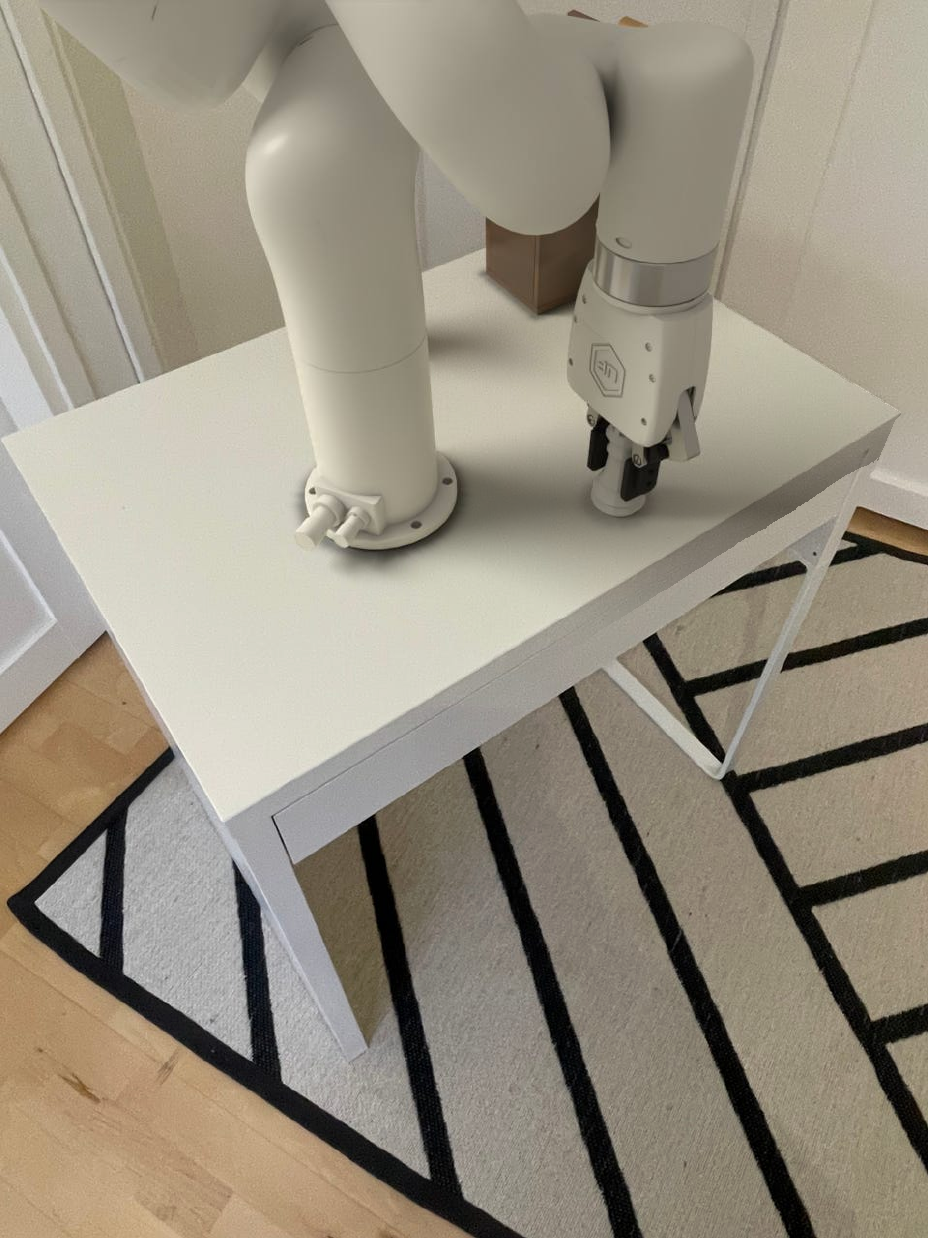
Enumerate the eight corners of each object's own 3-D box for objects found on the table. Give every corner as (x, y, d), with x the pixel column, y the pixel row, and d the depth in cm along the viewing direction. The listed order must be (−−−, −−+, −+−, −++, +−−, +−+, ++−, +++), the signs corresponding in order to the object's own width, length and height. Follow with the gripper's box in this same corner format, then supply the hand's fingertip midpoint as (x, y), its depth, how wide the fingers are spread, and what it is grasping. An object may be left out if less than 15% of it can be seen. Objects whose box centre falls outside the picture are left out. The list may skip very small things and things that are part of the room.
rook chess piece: (638, 524, 69) (652, 447, 62) (584, 513, 70) (592, 436, 63) (649, 487, 71) (664, 410, 65) (597, 477, 72) (606, 399, 66)
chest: (537, 314, 87) (540, 220, 80) (485, 273, 92) (484, 181, 85) (626, 279, 91) (638, 185, 83) (572, 241, 96) (579, 150, 88)
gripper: (529, 225, 57) (523, 439, 72) (696, 344, 48) (651, 561, 63) (618, 193, 60) (594, 407, 74) (793, 301, 51) (728, 520, 65)
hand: (621, 476), depth 68 cm, fingers closed on rook chess piece, 3 cm apart
